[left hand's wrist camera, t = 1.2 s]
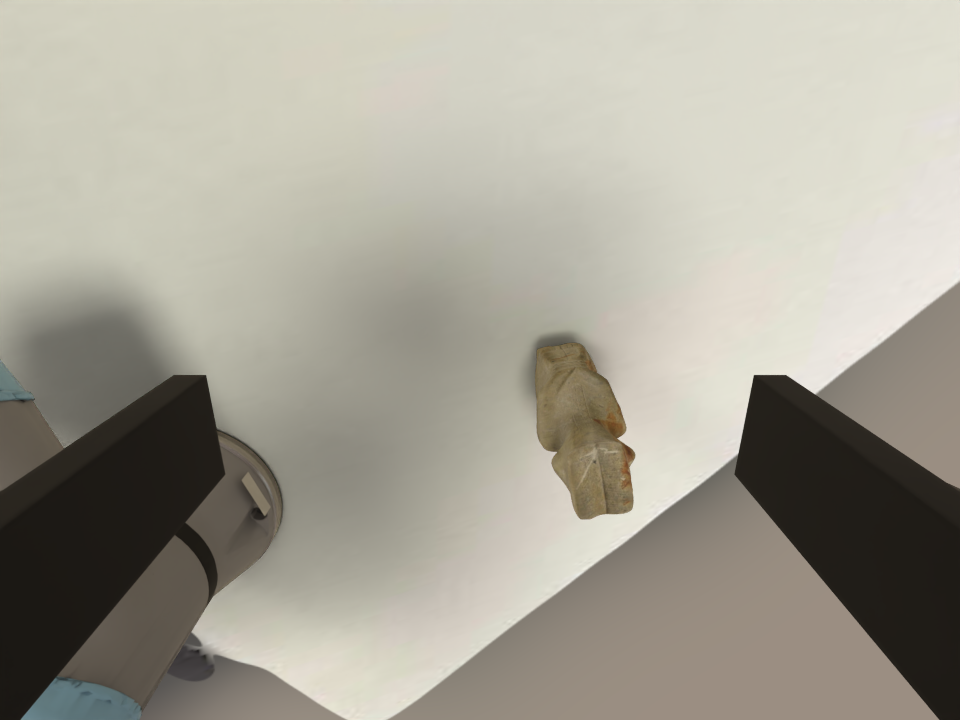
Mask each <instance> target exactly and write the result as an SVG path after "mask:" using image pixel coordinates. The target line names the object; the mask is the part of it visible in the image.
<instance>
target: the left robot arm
mask: <svg viewBox="0 0 960 720" xmlns="http://www.w3.org/2000/svg"><path fill="white" fill-rule="evenodd" d="M33 400H35V399H34V397H33V395H32V394H31V393H30V392H28V391H25V390H24V389H23V387H22V386H21V385H20V384H19V382H18V381H17V380H16V379H15V377H14V376H13V375H12V374H11V372H10V371H9V370H8V369H7V367H6V366H5V365H4V364H3V362H2V361H1V360H0V720H139V719H140V717H141V715H142V714H141V713H142V711H143V710H144V708H145V707H146V705H147V703H148V702H149V700H150V698H151V697H152V695H153V694H154V692H155V690H156V689H157V687H158V685H159V684H160V682H161V680H162V679H163V677H164V676H165V674H166V672H167V671H168V669H169V667H170V666H171V664H172V662H173V661H174V659H175V658H176V656H177V654H178V653H179V651H180V649H181V648H182V646H183V644H184V643H185V641H186V639H187V638H188V636H189V635H190V633H191V631H192V630H193V628H194V626H195V625H196V623H197V621H198V620H199V618H200V617H201V615H202V613H203V612H204V610H205V608H206V607H207V605H208V604H209V602H210V600H211V599H212V597H213V596H214V595H215V594H217V593H218V592H219V591H220V590H222V589H223V588H224V587H225V586H227V585H228V584H229V583H230V582H232V581H233V580H234V579H235V578H237V577H238V576H239V575H240V574H242V573H243V572H244V571H245V570H247V569H248V568H249V567H250V566H252V565H253V564H254V563H255V562H256V561H257V560H258V559H259V558H260V557H261V556H262V555H263V554H264V553H265V551H266V550H267V548H268V547H269V545H270V543H271V541H272V540H273V538H274V536H275V534H276V532H277V530H278V528H279V525H280V521H281V516H282V501H281V495H280V492H279V488H278V486H277V483H276V481H275V479H274V477H273V475H272V474H271V472H270V470H269V469H268V468H267V466H266V465H265V464H264V462H263V461H262V460H261V459H260V458H259V457H258V456H257V455H256V454H255V453H254V452H253V451H252V450H250V449H249V448H248V447H246V446H245V445H244V444H242V443H241V442H239V441H238V440H236V439H234V438H232V437H230V436H228V435H226V434H224V433H222V432H219V431H217V429H216V424H215V418H214V413H213V408H212V403H211V398H210V393H209V388H208V383H207V378H206V375H173V376H172V377H170V378H169V379H167V380H166V381H164V382H163V383H162V384H160V385H159V386H157V387H156V388H154V389H153V390H151V391H150V392H148V393H147V394H145V395H144V396H142V397H141V398H139V399H138V400H136V401H135V402H133V403H132V404H130V405H129V406H127V407H126V408H124V409H123V410H121V411H120V412H118V413H117V414H115V415H114V416H112V417H111V418H109V419H108V420H106V421H105V422H103V423H102V424H100V425H99V426H97V427H96V428H94V429H93V430H91V431H90V432H89V433H87V434H86V435H84V436H83V437H81V438H80V439H78V440H77V441H75V442H74V443H72V444H71V445H69V446H68V447H66V448H65V449H64V448H63V446H62V445H61V443H60V442H59V440H58V439H57V438H56V436H55V435H54V433H53V431H52V430H51V428H50V427H49V425H48V424H47V422H46V421H45V419H44V418H43V416H42V415H41V413H40V412H39V410H38V408H37V407H36V405H35V404H34V402H33ZM735 476H736V477H737V478H738V479H739V480H740V482H741V483H742V484H743V485H744V486H745V488H746V489H747V490H748V491H749V492H750V494H751V495H752V496H753V497H754V498H755V500H756V501H757V502H758V503H759V504H760V506H761V507H762V508H763V509H764V510H765V512H766V513H767V514H768V515H769V516H770V518H771V519H772V520H773V521H774V522H775V524H776V525H777V526H778V527H779V528H780V529H781V531H782V532H783V533H784V534H785V535H786V537H787V538H788V539H789V540H790V541H791V543H792V544H793V545H794V546H795V547H796V549H797V550H798V551H799V552H800V553H801V555H802V556H803V557H804V558H805V559H806V561H807V562H808V563H809V564H810V565H811V567H812V568H813V569H814V570H815V571H816V573H817V574H818V575H819V576H820V577H821V579H822V580H823V581H824V582H825V583H826V585H827V586H828V587H829V588H830V589H831V591H832V592H833V593H834V594H835V595H836V597H837V598H838V599H839V600H840V601H841V602H842V604H843V605H844V606H845V607H846V609H847V610H848V611H849V612H850V613H851V614H852V616H853V617H854V618H855V619H856V620H857V622H858V623H859V624H860V625H861V626H862V628H863V629H864V630H865V631H866V632H867V634H868V635H869V636H870V637H871V638H872V640H873V641H874V642H875V643H876V644H877V646H878V647H879V648H880V649H881V650H882V652H883V653H884V654H885V655H886V656H887V658H888V659H889V660H890V661H891V662H892V664H893V665H894V666H895V667H896V668H897V670H898V671H899V672H900V673H901V674H902V675H903V677H904V678H905V679H906V680H907V682H908V683H909V684H910V685H911V686H912V688H913V689H914V690H915V691H916V692H917V694H918V695H919V696H920V697H921V698H922V699H923V701H924V702H925V703H926V704H927V705H928V707H929V708H930V709H931V710H932V711H933V713H934V714H935V715H936V716H937V717H938V719H939V720H960V489H959V488H957V487H955V486H953V485H950V484H948V483H946V482H944V481H943V480H942V479H940V478H939V477H937V476H936V475H934V474H933V473H931V472H930V471H928V470H927V469H925V468H924V467H922V466H921V465H919V464H918V463H916V462H915V461H913V460H912V459H910V458H909V457H907V456H906V455H904V454H903V453H901V452H900V451H898V450H897V449H895V448H894V447H892V446H891V445H889V444H888V443H886V442H885V441H883V440H882V439H880V438H879V437H877V436H876V435H874V434H873V433H871V432H870V431H869V430H867V429H866V428H864V427H863V426H861V425H860V424H858V423H857V422H855V421H854V420H852V419H851V418H849V417H848V416H846V415H845V414H843V413H842V412H840V411H839V410H837V409H836V408H834V407H833V406H831V405H830V404H828V403H827V402H825V401H824V400H822V399H821V398H819V397H818V396H816V395H815V394H813V393H812V392H810V391H809V390H807V389H806V388H804V387H803V386H801V385H800V384H798V383H797V382H796V381H794V380H793V379H791V378H790V377H788V376H787V375H754V378H753V383H752V388H751V393H750V398H749V403H748V408H747V413H746V418H745V424H744V429H743V434H742V439H741V444H740V449H739V454H738V459H737V464H736V469H735Z"/></svg>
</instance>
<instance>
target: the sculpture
mask: <svg viewBox="0 0 960 720" xmlns="http://www.w3.org/2000/svg"><path fill="white" fill-rule="evenodd" d="M535 387H536V397H537V435H538V438H539V441H540V443H541V445H542V446H543V447H544V449H546V450H547V451H553V452H557V453H556V454H555V456H554V457H553V459H552V466H553V469H554V471H555V472H556V474H557V475H558V476H559V477H560V478H561V480H562V481H563V482H564V484H565V485H566V486H567V488H568V490H569V491H570V494H571V499H572V503H573V507H574V510H575V512H576V514H577V516H578V517H579V518H580V519H592V518H594V517H596V516H598V515H602V514H623V513H627V512H629V511H631V510H632V508H633V489H632V483H631V474H630V468H629V467H630V465H631V463H632V462H633V461H634V459H635V452H634V451H633V450H632V449H631V448H630V447H628V446H627V445H625V444H624V443H622V442H621V441H619V440H618V439H617V438H618V437H620V436H622V435H623V434H624V433H625V432H626V424H625V421H624V418H623V415H622V412H621V408H620V406H619V404H618V403H617V401H616V398H615V396H614V394H613V392H612V389H611V387H610V384H609V382H608V381H607V380H606V379H605V378H604V377H603V376H601V375H599V374H598V373H597V370H596V368H595V365H594V363H593V361H592V359H591V357H590V355H589V354H588V352H587V351H586V349H585V348H584V347H583V346H582V345H581V344H578V343H566V344H563V345H558V346H553V347H551V346H547V347H543V348H539V349H537V364H536V372H535Z"/></svg>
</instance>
